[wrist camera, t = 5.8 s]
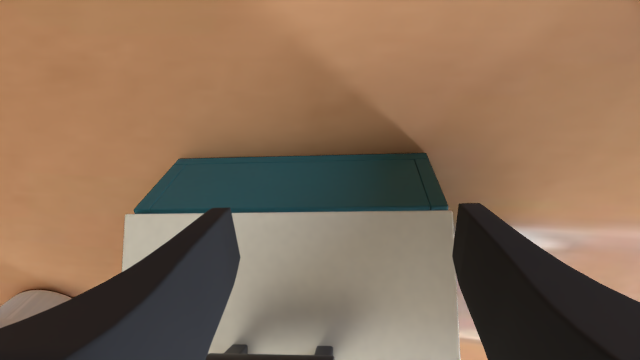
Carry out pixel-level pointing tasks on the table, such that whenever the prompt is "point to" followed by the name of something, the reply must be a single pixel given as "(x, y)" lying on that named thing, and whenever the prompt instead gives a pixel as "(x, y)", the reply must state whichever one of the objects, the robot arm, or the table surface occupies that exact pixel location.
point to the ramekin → (29, 305)
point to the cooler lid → (329, 284)
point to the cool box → (298, 185)
